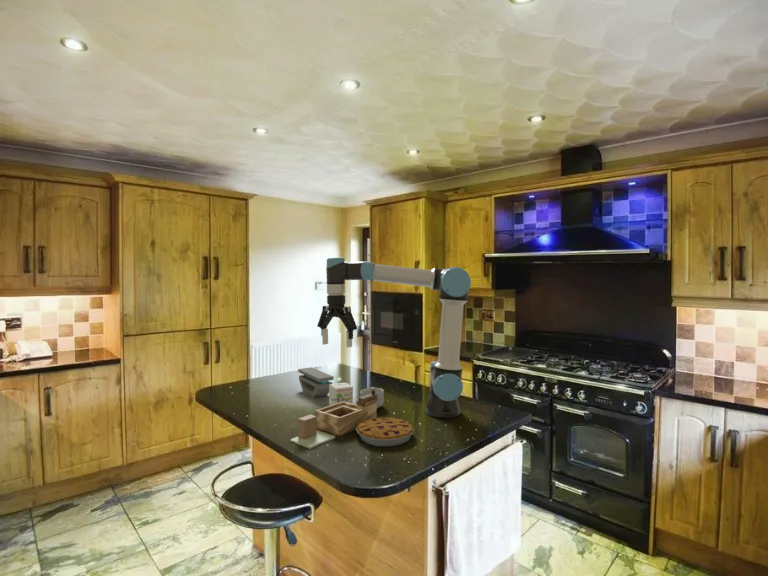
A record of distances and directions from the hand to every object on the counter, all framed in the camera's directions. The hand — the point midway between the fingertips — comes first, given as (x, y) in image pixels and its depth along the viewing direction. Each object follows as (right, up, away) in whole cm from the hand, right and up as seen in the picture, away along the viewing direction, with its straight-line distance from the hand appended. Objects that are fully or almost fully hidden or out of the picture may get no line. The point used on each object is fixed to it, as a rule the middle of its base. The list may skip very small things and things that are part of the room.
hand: (337, 345), depth 176 cm
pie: (+20, -33, -15) cm, 41 cm away
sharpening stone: (-16, -31, +41) cm, 54 cm away
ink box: (0, -32, +15) cm, 35 cm away
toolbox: (+5, -32, -2) cm, 32 cm away
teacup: (+14, -31, +21) cm, 40 cm away
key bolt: (+13, -24, +2) cm, 28 cm away
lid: (-7, -33, -19) cm, 38 cm away
